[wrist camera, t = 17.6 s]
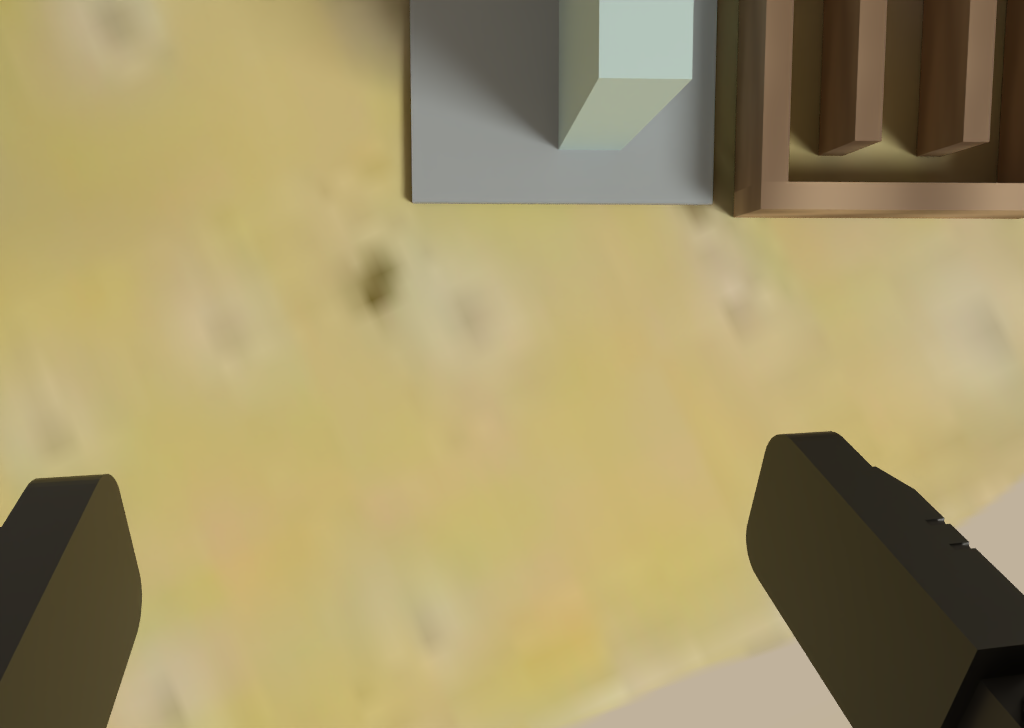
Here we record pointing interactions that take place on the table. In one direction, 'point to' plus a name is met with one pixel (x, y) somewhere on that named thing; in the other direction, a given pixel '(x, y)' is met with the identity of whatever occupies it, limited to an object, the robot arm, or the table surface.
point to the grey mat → (540, 115)
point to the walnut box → (878, 109)
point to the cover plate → (619, 67)
